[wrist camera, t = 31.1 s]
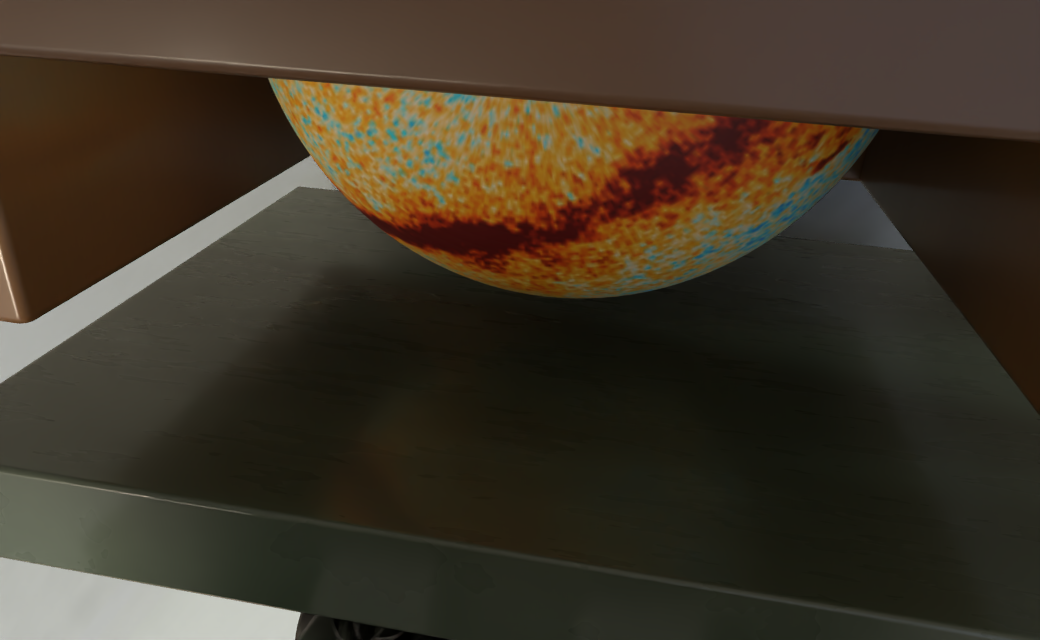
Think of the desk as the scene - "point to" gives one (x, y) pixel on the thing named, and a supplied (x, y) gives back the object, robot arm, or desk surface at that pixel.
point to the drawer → (514, 398)
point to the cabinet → (596, 52)
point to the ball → (565, 183)
